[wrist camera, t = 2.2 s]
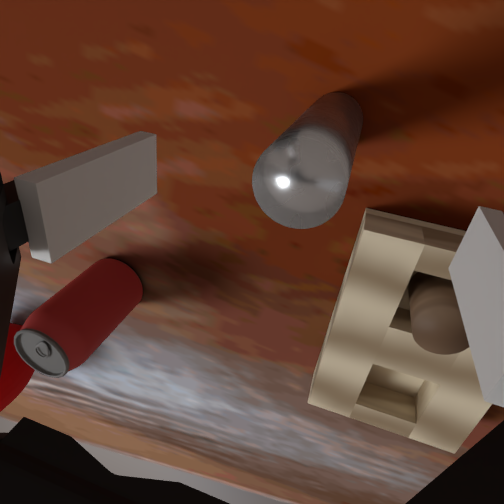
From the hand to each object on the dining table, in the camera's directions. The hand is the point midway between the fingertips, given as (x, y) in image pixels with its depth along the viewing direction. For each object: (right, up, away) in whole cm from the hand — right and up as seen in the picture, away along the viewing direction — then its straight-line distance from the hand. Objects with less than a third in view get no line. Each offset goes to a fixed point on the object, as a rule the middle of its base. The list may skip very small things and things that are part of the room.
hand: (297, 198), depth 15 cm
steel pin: (+4, +7, +12) cm, 15 cm away
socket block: (+13, -9, +18) cm, 24 cm away
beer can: (-17, -5, +27) cm, 33 cm away
